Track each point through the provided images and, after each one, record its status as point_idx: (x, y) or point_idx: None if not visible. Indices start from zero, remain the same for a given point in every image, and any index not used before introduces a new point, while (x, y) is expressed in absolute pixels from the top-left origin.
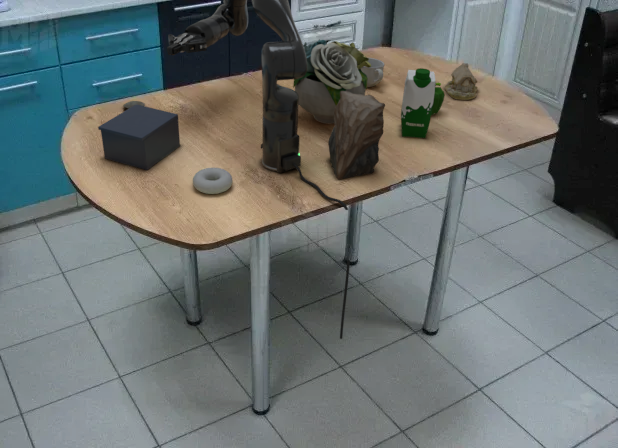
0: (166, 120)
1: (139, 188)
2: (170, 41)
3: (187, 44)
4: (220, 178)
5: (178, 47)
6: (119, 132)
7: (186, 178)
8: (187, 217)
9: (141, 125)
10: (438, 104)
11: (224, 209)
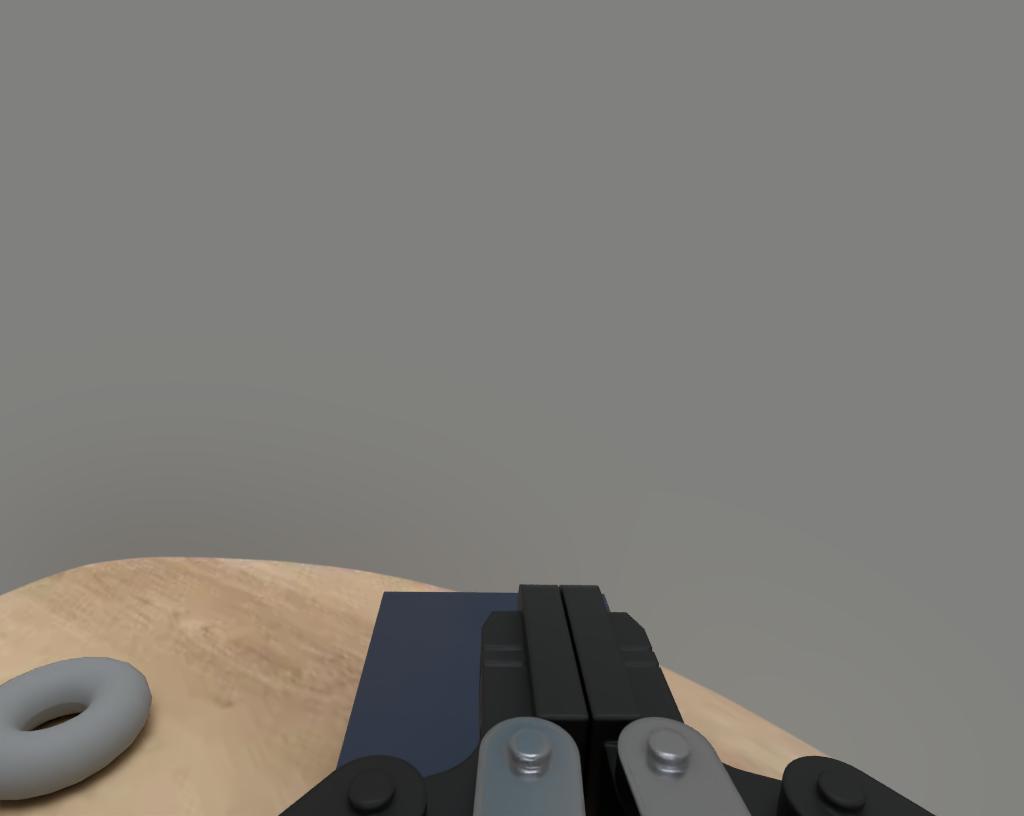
0: (356, 732)
1: (350, 650)
2: (817, 768)
3: (360, 763)
4: (12, 697)
5: (485, 671)
6: (496, 593)
7: (194, 748)
8: (149, 607)
9: (452, 652)
10: None
11: (15, 660)
